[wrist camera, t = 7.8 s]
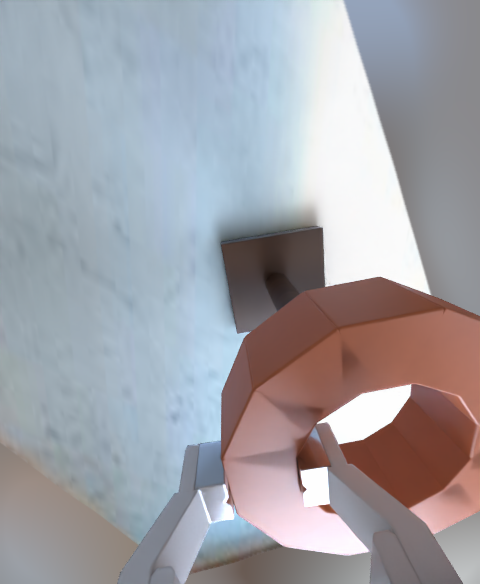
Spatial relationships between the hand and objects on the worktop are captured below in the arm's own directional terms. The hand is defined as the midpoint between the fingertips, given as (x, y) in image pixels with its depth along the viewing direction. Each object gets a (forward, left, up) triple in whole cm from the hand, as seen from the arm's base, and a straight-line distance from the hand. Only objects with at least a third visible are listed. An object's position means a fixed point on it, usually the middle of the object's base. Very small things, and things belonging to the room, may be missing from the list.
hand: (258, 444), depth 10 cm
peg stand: (0, +4, -19) cm, 19 cm away
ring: (0, +4, -2) cm, 5 cm away
